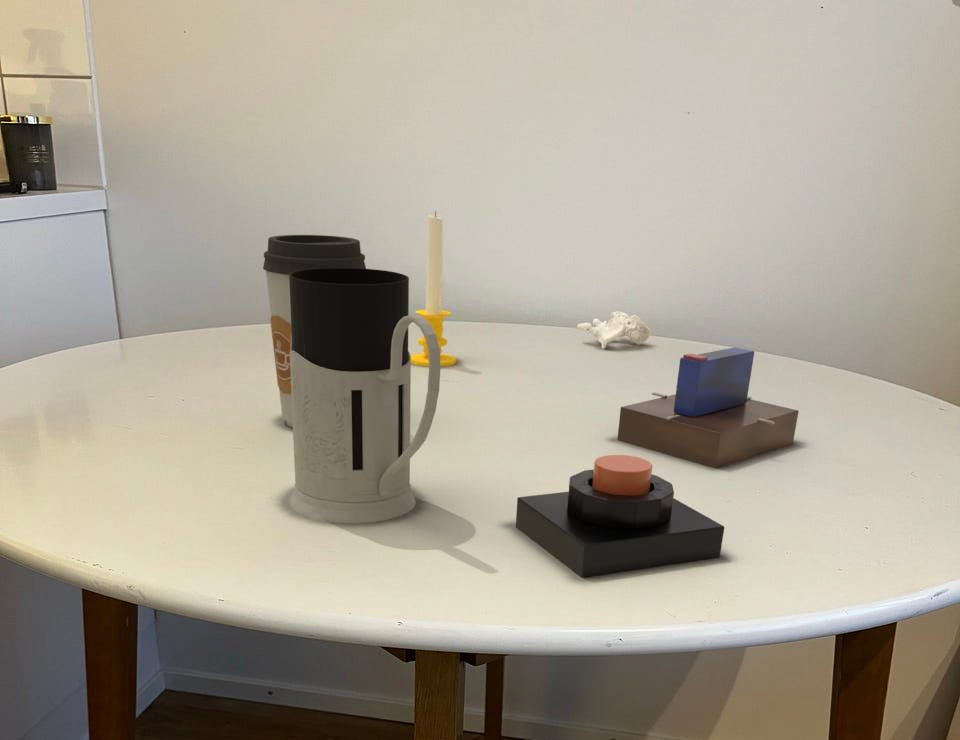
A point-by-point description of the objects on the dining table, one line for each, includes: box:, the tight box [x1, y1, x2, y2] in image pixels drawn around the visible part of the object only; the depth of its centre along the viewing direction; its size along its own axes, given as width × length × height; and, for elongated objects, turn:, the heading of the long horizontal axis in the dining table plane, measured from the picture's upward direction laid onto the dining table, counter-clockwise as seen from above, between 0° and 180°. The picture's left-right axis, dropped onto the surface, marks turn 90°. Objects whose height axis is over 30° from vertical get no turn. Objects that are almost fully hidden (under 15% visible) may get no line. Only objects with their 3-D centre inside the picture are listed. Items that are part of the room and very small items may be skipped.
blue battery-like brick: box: [674, 346, 755, 417], centre depth 85 cm, size 8×2×5 cm, turn 134°
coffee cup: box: [262, 234, 367, 429], centre depth 85 cm, size 8×8×15 cm
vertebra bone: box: [577, 310, 652, 350], centre depth 125 cm, size 8×4×7 cm
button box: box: [515, 469, 725, 579], centre depth 65 cm, size 10×9×4 cm
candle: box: [410, 210, 457, 368], centre depth 109 cm, size 5×5×16 cm
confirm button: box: [592, 454, 653, 496], centre depth 64 cm, size 4×4×2 cm
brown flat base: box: [617, 391, 799, 469], centre depth 87 cm, size 12×12×3 cm
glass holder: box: [289, 268, 442, 524], centre depth 65 cm, size 9×14×15 cm, turn 37°
